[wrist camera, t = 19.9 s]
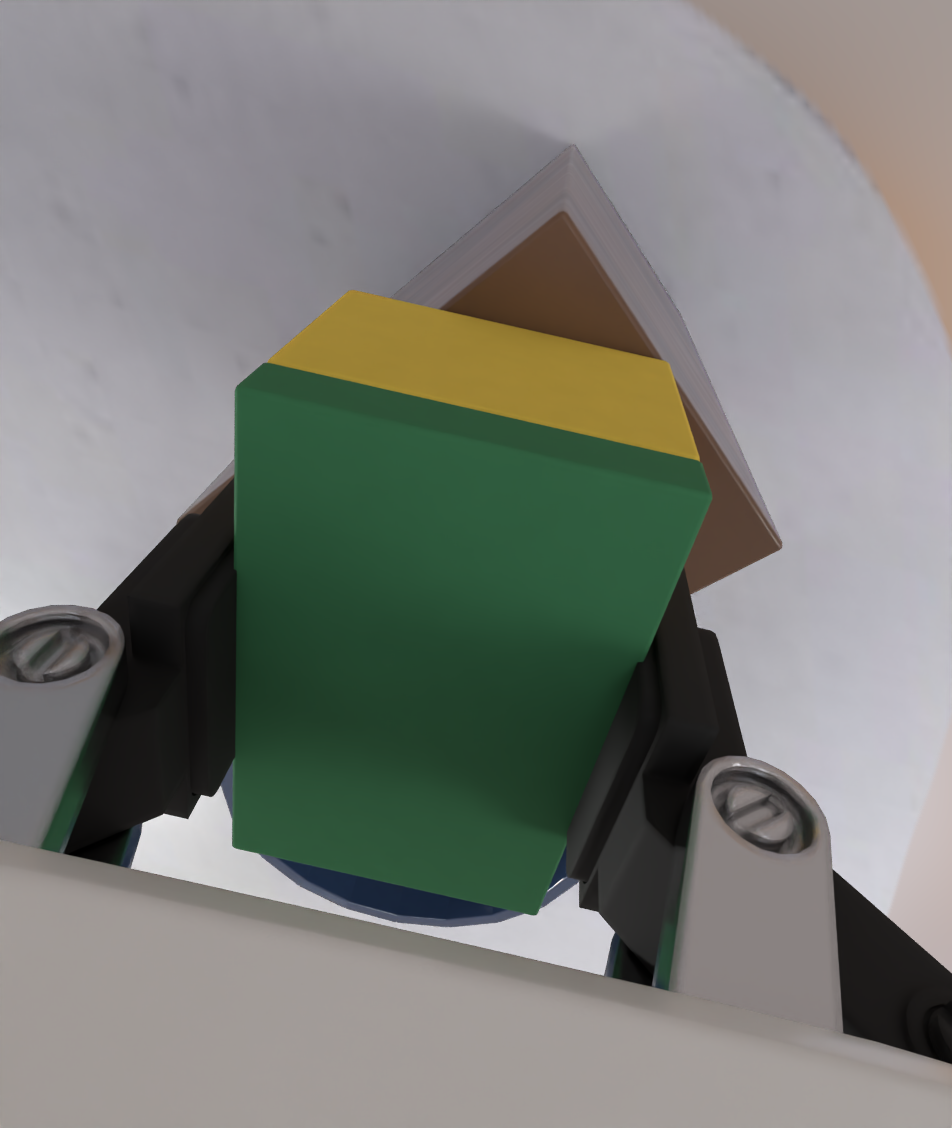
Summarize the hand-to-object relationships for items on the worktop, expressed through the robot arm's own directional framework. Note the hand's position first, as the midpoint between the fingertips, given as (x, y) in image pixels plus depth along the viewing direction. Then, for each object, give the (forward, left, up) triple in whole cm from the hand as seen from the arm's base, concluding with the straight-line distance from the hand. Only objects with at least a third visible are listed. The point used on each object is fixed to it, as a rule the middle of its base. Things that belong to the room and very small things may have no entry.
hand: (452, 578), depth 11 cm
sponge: (0, 0, -1) cm, 1 cm away
